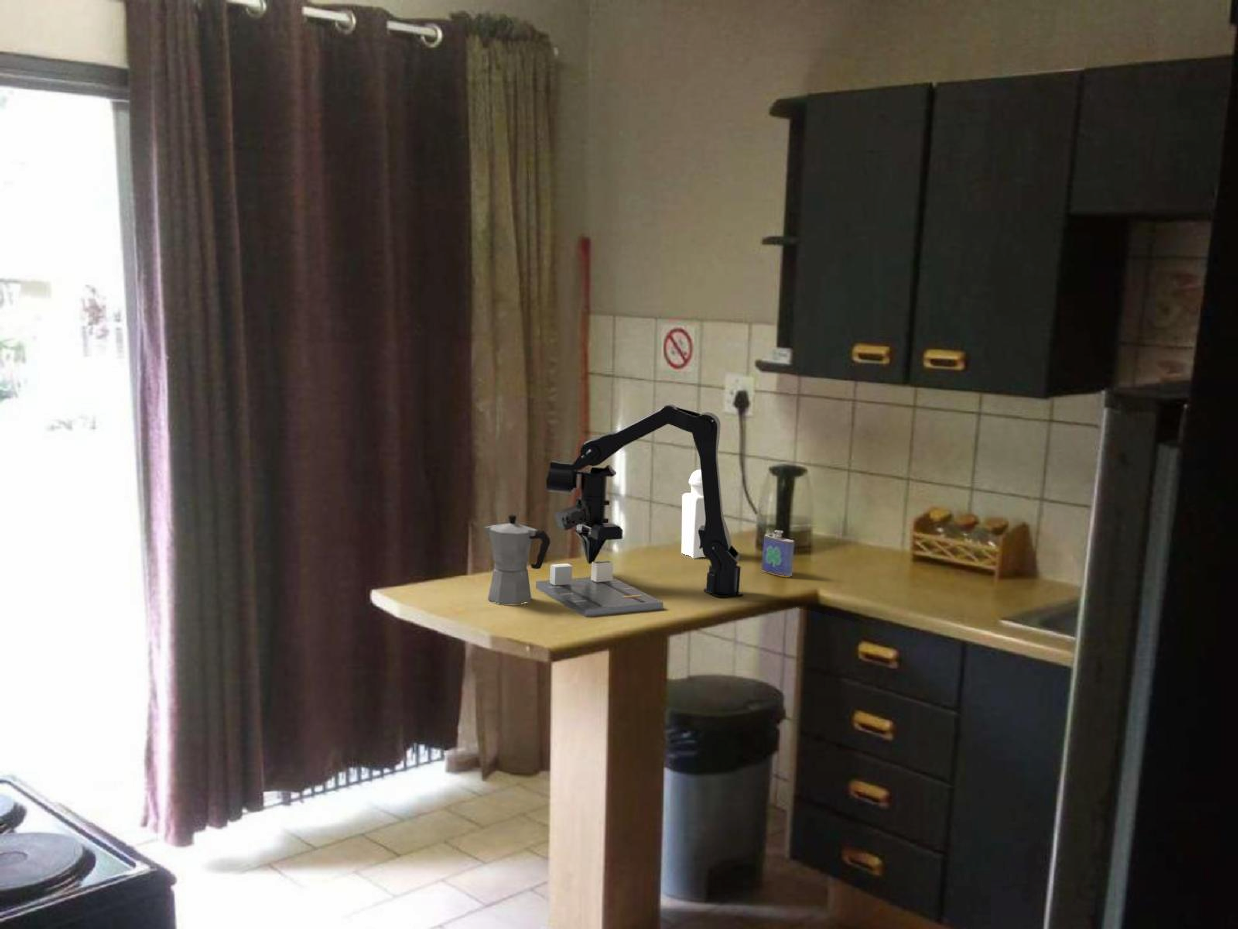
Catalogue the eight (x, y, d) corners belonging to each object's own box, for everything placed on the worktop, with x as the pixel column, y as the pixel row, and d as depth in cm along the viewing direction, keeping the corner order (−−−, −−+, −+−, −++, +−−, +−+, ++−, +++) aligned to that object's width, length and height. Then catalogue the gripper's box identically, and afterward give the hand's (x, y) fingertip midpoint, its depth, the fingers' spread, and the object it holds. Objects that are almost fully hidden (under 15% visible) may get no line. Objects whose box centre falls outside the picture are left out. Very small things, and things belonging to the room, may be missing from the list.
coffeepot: (470, 599, 237) (473, 514, 234) (493, 590, 245) (496, 507, 243) (536, 611, 230) (539, 523, 228) (557, 601, 239) (561, 516, 237)
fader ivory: (607, 578, 254) (607, 560, 253) (612, 580, 252) (613, 562, 251) (591, 579, 252) (591, 561, 251) (596, 582, 250) (597, 563, 249)
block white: (566, 581, 249) (567, 563, 249) (571, 584, 247) (572, 565, 246) (549, 582, 247) (550, 564, 247) (554, 585, 245) (555, 566, 244)
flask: (794, 577, 271) (797, 533, 269) (785, 579, 269) (788, 534, 267) (766, 569, 278) (769, 526, 276) (757, 571, 276) (760, 527, 274)
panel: (608, 582, 257) (609, 575, 257) (663, 609, 237) (663, 601, 236) (535, 588, 249) (536, 580, 249) (585, 616, 228) (585, 608, 228)
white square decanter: (692, 559, 285) (697, 472, 282) (678, 553, 291) (683, 468, 288) (714, 557, 288) (719, 471, 285) (699, 552, 294) (704, 467, 291)
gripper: (542, 489, 259) (540, 556, 261) (579, 503, 243) (576, 575, 245) (586, 487, 264) (583, 553, 266) (625, 501, 248) (622, 571, 250)
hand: (590, 563), depth 257 cm, fingers closed
